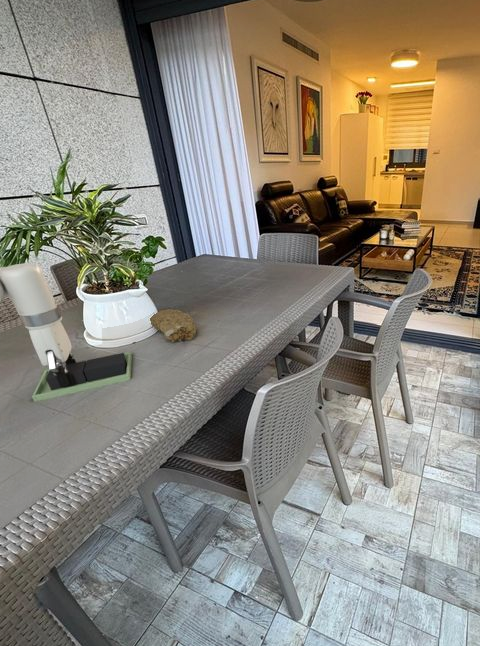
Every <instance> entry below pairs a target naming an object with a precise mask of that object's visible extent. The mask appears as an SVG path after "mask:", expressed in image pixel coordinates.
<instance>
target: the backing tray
mask: <svg viewBox="0 0 480 646" xmlns="http://www.w3.org/2000/svg"><path fill="white" fill-rule="evenodd" d="M131 352H132V351H131ZM131 352H125V353H124V355H125V358H126V361H127V371H126V374H123V375H118V376H114V377H109V378H105V379H100V380H96V381H92V382H88V381H87V383H82V384H78V385H73V386H69V387H64V388H59V389H55V390H51V389H50V387H49V385H48V383H47V380H46V377H47V375H48V373H49V371H50V369H49V368H48V369H44V370H43V373H42V375H41V377H40V379H39V381H38V383H37V385H36V387H35V389H34V391H33V393H32V395H31V398H32V400H33V401H34V403H35V402H36V403H37V402H39V401H44V400H48V399H54V398H57V397H61V396H66V395H71V394H75V393H79V392H84V391H89V390H91V389H97V388H100V387H104V386H109V385H113V384H118V383H122V382H127V381H130V380H131V377H132V376H131V375H132V365H133V363H132V362H133V356H132V353H131ZM85 361H86V362H87V360H85Z"/></svg>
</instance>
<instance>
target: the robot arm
mask: <svg viewBox="0 0 480 646" xmlns="http://www.w3.org/2000/svg"><path fill="white" fill-rule="evenodd" d="M6 298H10V300H11V302H12V304H13V307H14V308H15V310H16V312H17V314H18V317H19V318H20V320H21V322H22V324H23V326H24V328H25V329H27V330H28V333H29V336H30V340H31V342H32V345H33V347H34V350H35V352H36V354H37V356H38V359H39V361H40V363H41V365H42V367H44V368H45V367H48V369H50V371H52V372H53V373H54V375H55V377H56V379H57V381H58V383H59V385H60V387H61V388H64V387H69V386H73V385H75V381H74V378H73V376H72V374H71V372H70V371H68V369H67V366H66V364H71V363H76V362H77V361H76V358H75V356H74V354H73V352H72V343H71V340H70V337H69V335H68V333H67V331H66V329H65V327H64V325H63V323H62V320H63V315H62V314H61V311H60V309H59V307H58V304H57V302H56V300H55V297H54V296H53V293H52V291H51V288H50V286H49V284H48V282H47V280H46V277H45V275H44V273H43V270H42V268H41V267H40V266H39V265H37V264H36V263H30V262H25V263H17V264H12V265H8V266H0V302H1V301H2V300H4V299H6ZM59 360H60V361H59ZM61 365H62V366H63V368H62V367H58V366H61Z"/></svg>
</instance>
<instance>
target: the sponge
mask: <svg viewBox="0 0 480 646" xmlns="http://www.w3.org/2000/svg"><path fill="white" fill-rule="evenodd" d="M155 313H156V312H155ZM155 313H153V314H154V315H153V316H152V317H151V318H150V321H151V325H152V326H151V325H150V326H151V327H152V328H154V329H155V330H157V331H159V332H161V333H162V334H163V336H164V337H165V339H166V340H168V341H170V342H171V343H177V342H178V343H179V342H183V341H191V340H192V339H194V338H195V336H196V333H197V327H196V323H195V321H194V319H193V317H192V316H191V315H189V314H188V313H186V312H183V311H181V310H179V309H169V308H168V309H162V310H159V311H157V313H156V314H155Z"/></svg>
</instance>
